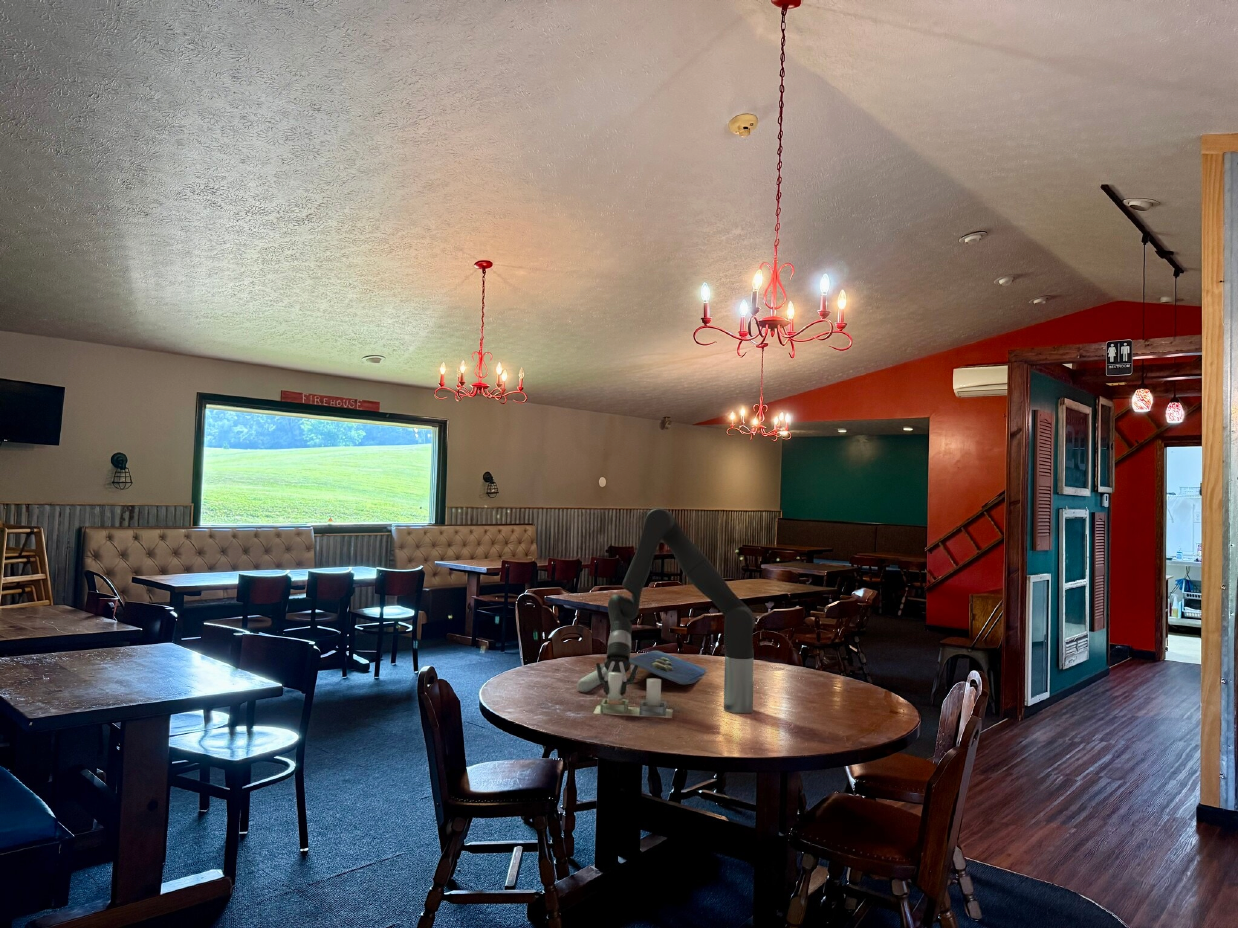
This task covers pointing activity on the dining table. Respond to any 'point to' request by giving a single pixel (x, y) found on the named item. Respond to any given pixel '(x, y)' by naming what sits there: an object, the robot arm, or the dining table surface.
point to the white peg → (614, 688)
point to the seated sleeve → (653, 692)
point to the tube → (590, 681)
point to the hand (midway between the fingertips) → (614, 693)
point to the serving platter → (669, 667)
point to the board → (633, 709)
